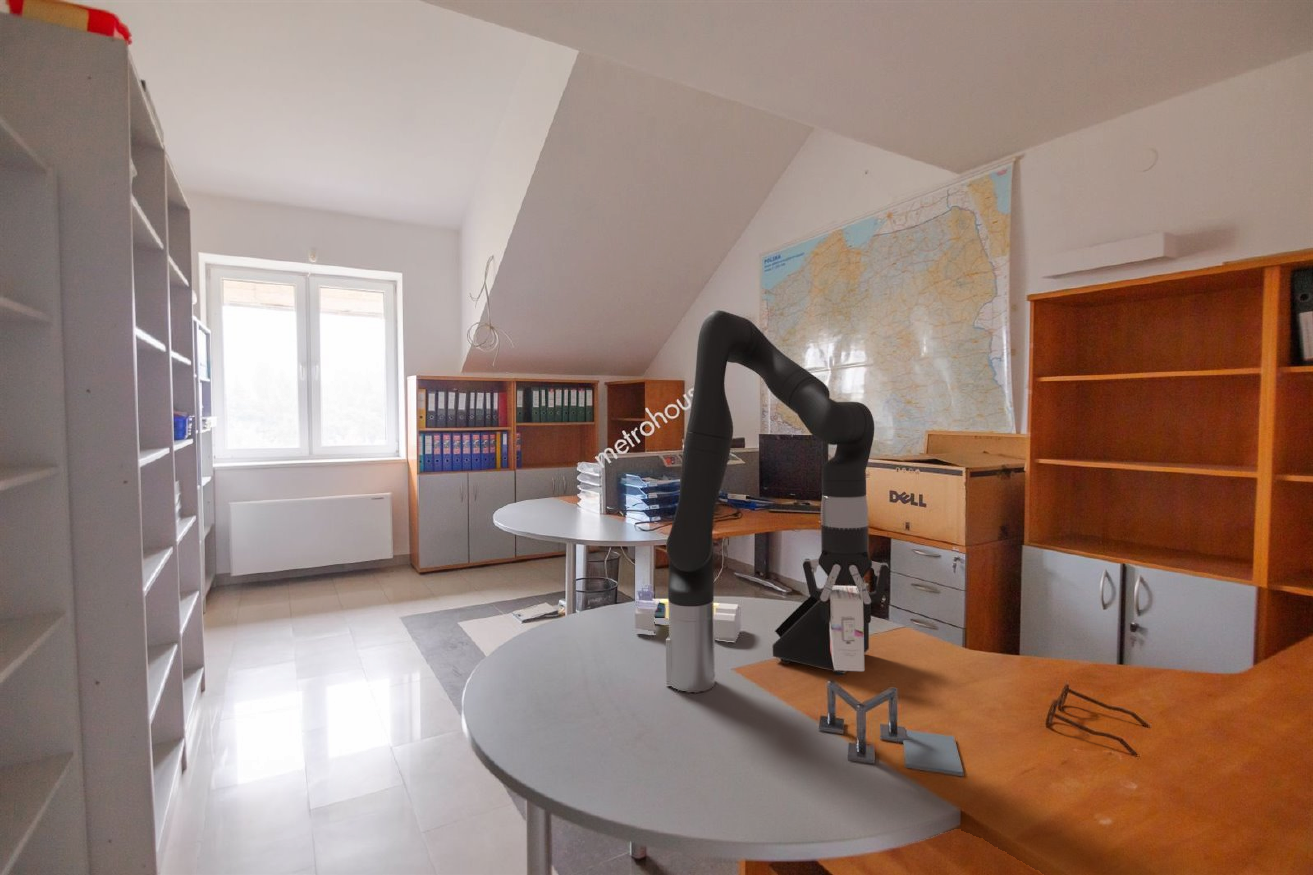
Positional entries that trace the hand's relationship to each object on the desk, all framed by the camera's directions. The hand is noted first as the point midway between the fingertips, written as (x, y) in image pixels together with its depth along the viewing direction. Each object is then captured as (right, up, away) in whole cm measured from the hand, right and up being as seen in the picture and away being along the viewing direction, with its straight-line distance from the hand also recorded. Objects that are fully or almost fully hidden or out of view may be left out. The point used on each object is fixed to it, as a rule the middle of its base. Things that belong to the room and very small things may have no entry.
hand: (845, 622), depth 103 cm
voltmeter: (+5, -19, +35) cm, 40 cm away
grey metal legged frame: (+2, -20, -1) cm, 20 cm away
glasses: (+44, -20, +3) cm, 48 cm away
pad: (+12, -20, -4) cm, 23 cm away
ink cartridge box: (0, -7, 0) cm, 7 cm away
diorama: (-23, -19, +53) cm, 61 cm away
